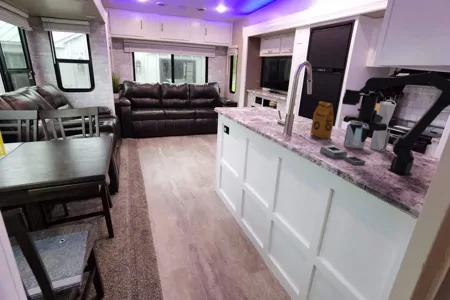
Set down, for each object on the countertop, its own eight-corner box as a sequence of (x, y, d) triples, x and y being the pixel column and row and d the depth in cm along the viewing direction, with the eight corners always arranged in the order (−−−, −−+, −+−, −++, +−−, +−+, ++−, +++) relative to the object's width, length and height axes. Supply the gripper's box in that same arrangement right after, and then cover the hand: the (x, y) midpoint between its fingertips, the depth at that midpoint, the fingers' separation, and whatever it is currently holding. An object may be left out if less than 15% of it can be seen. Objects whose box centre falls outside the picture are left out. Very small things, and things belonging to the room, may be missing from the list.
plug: (364, 146, 108) (368, 129, 105) (358, 146, 107) (362, 129, 104) (357, 144, 111) (362, 127, 108) (352, 144, 110) (356, 128, 107)
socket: (346, 157, 117) (347, 151, 116) (333, 158, 115) (334, 152, 114) (332, 150, 126) (333, 144, 125) (319, 151, 124) (321, 145, 123)
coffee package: (319, 139, 146) (326, 103, 139) (308, 134, 157) (313, 101, 150) (333, 138, 149) (340, 104, 142) (320, 133, 160) (326, 101, 153)
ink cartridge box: (361, 146, 136) (367, 121, 131) (363, 149, 131) (369, 123, 126) (342, 144, 139) (348, 120, 134) (344, 146, 134) (349, 121, 129)
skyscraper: (382, 152, 127) (397, 100, 118) (366, 148, 133) (379, 98, 123) (386, 149, 133) (400, 99, 124) (370, 146, 138) (383, 98, 129)
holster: (364, 163, 110) (365, 161, 109) (354, 165, 108) (355, 162, 107) (354, 159, 115) (354, 156, 115) (344, 160, 113) (344, 157, 113)
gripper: (401, 110, 97) (390, 146, 102) (364, 103, 113) (356, 134, 119) (381, 111, 93) (371, 147, 99) (345, 103, 110) (338, 135, 115)
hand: (359, 140), depth 108 cm, fingers closed on plug, 3 cm apart
